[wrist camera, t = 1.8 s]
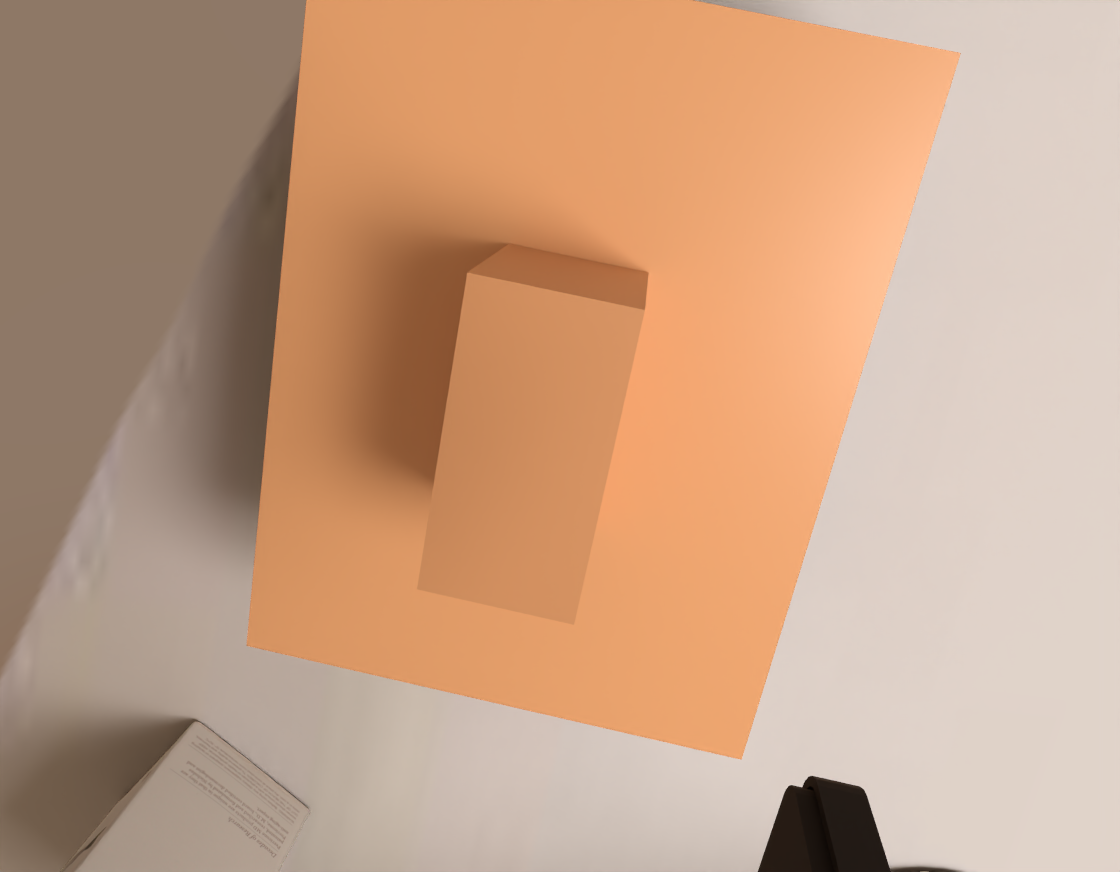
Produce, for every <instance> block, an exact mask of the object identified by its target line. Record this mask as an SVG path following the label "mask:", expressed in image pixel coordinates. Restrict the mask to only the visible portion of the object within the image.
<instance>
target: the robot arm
mask: <svg viewBox="0 0 1120 872" xmlns="http://www.w3.org/2000/svg"><path fill="white" fill-rule="evenodd" d="M758 872H891V871H890V868H889V865H888V862H887V859H886V855H885V852H884V849H883V846H882V843H881V839H880V836H879V833H878V830H877V827H876V824H875V820H874V817H873V814H872V811H871V808H870V805H869V801H868V798H867V795H866V793H865V791H864V789H862V788H861V787H859V786H855V785H850V784H846V783H841V782H837V781H833V780H828V779H824V778H819V777H815V776H810V777H808V778H807V780H806V781H805V782H804V785H803V787H797V786H793V785H791V786H788V788H787V789H786V791H785V793H784V796H783V799H782V802H781V805H780V808H779V811H778V814H777V817H776V820H775V823H774V826H773V828H772V831H771V834H770V837H769V840H768V843H767V846H766V849H765V852H764V855H763V858H762V861H761V864H760V867H759V870H758ZM922 872H927V871H922Z"/></svg>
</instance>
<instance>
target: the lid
mask: <svg viewBox="0 0 1120 872" xmlns="http://www.w3.org/2000/svg"><path fill="white" fill-rule="evenodd" d="M960 54H961V53H958V52H953V51H947V50H942V49H937V48H932V47H927V46H922V45H917V44H912V43H907V42H902V41H897V40H892V39H887V38H882V37H877V36H871V35H866V34H861V33H856V32H851V31H846V30H841V29H836V28H831V27H826V26H821V25H816V24H811V23H806V22H801V21H796V20H790V19H785V18H780V17H775V16H770V15H765V14H760V13H755V12H750V11H745V10H740V9H735V8H730V7H725V6H720V5H714V4H709V3H704V2H699V1H694V0H306V9H305V20H304V31H303V41H302V52H301V63H300V74H299V84H298V95H297V106H296V117H295V128H294V138H293V149H292V160H291V171H290V182H289V193H288V203H287V214H286V225H285V236H284V247H283V257H282V268H281V279H280V290H279V301H278V311H277V322H276V333H275V344H274V355H273V365H272V376H271V387H270V398H269V409H268V419H267V430H266V441H265V452H264V463H263V474H262V484H261V495H260V506H259V517H258V528H257V538H256V549H255V560H254V571H253V582H252V592H251V603H250V614H249V625H248V636H247V646H250V647H255V648H259V649H263V650H268V651H272V652H276V653H281V654H285V655H289V656H294V657H298V658H302V659H307V660H311V661H315V662H320V663H324V664H328V665H333V666H337V667H341V668H346V669H350V670H354V671H359V672H363V673H368V674H372V675H376V676H381V677H385V678H389V679H394V680H398V681H402V682H407V683H411V684H415V685H420V686H424V687H428V688H433V689H437V690H441V691H446V692H450V693H454V694H459V695H463V696H467V697H472V698H476V699H480V700H485V701H489V702H493V703H498V704H502V705H507V706H511V707H515V708H520V709H524V710H528V711H533V712H537V713H541V714H546V715H550V716H554V717H559V718H563V719H567V720H572V721H576V722H580V723H585V724H589V725H593V726H598V727H602V728H606V729H611V730H615V731H619V732H624V733H628V734H632V735H637V736H641V737H645V738H650V739H654V740H659V741H663V742H667V743H672V744H676V745H680V746H685V747H689V748H693V749H698V750H702V751H706V752H711V753H715V754H719V755H724V756H728V757H732V758H737V759H742V756H743V753H744V749H745V746H746V743H747V740H748V737H749V733H750V730H751V727H752V724H753V720H754V717H755V714H756V711H757V708H758V704H759V701H760V698H761V695H762V691H763V688H764V685H765V682H766V679H767V675H768V672H769V669H770V666H771V662H772V659H773V656H774V653H775V650H776V646H777V643H778V640H779V637H780V634H781V630H782V627H783V624H784V621H785V617H786V614H787V611H788V608H789V605H790V601H791V598H792V595H793V592H794V588H795V585H796V582H797V579H798V576H799V572H800V569H801V566H802V563H803V559H804V556H805V553H806V550H807V547H808V543H809V540H810V537H811V534H812V530H813V527H814V524H815V521H816V518H817V514H818V511H819V508H820V505H821V501H822V498H823V495H824V492H825V489H826V485H827V482H828V479H829V476H830V472H831V469H832V466H833V463H834V460H835V456H836V453H837V450H838V447H839V443H840V440H841V437H842V434H843V431H844V427H845V424H846V421H847V418H848V414H849V411H850V408H851V405H852V402H853V398H854V395H855V392H856V389H857V386H858V382H859V379H860V376H861V373H862V369H863V366H864V363H865V360H866V357H867V353H868V350H869V347H870V344H871V340H872V337H873V334H874V331H875V328H876V324H877V321H878V318H879V315H880V311H881V308H882V305H883V302H884V299H885V295H886V292H887V289H888V286H889V282H890V279H891V276H892V273H893V270H894V266H895V263H896V260H897V257H898V253H899V250H900V247H901V244H902V241H903V237H904V234H905V231H906V228H907V224H908V221H909V218H910V215H911V212H912V208H913V205H914V202H915V199H916V195H917V192H918V189H919V186H920V183H921V179H922V176H923V173H924V170H925V166H926V163H927V160H928V157H929V154H930V150H931V147H932V144H933V141H934V137H935V134H936V131H937V128H938V125H939V121H940V118H941V115H942V112H943V109H944V105H945V102H946V99H947V96H948V92H949V89H950V86H951V83H952V80H953V76H954V73H955V70H956V67H957V63H958V60H959V57H960Z"/></svg>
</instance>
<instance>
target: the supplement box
mask: <svg viewBox="0 0 1120 872" xmlns="http://www.w3.org/2000/svg"><path fill="white" fill-rule="evenodd" d="M309 814H310V810H309V809H308V808H307V807H306V806H304V805H303V804H302V803H301V802H300V801H298V800H297V799H296V798H295V797H294V796H292V795H291V794H290V793H289V792H287V791H286V790H285V789H284V788H282V787H281V786H280V785H279V784H277V783H276V782H275V781H274V780H272V779H271V778H270V777H269V776H268V775H266V774H265V773H264V772H263V771H261V770H260V769H259V768H257V767H256V766H255V765H254V764H253V763H252V762H250V761H249V760H248V759H247V758H245V757H244V756H243V755H241V754H240V753H239V752H237V751H236V750H235V749H234V748H233V747H231V746H230V745H229V744H228V743H226V742H225V741H224V740H222V739H221V738H220V737H219V736H218V735H217V734H215V733H214V732H212V731H211V730H210V729H209V728H207V727H206V726H204V725H203V724H202V723H200V722H198V721H195V722H193V723H192V724H191V725H190V726H189V727H188V728H187V729H186V731H185V732H184V733H183V734H182V735H181V736H180V737H179V739H178V740H177V741H176V742H175V743H174V744H173V745H172V746H171V747H170V749H169V750H168V751H167V752H166V753H165V754H164V755H163V756H162V757H161V758H160V759H159V760H158V761H157V762H156V763H155V765H154V766H153V767H152V768H151V769H150V770H149V771H148V772H147V773H146V774H145V775H144V776H143V777H142V778H141V779H140V780H139V781H138V783H137V784H136V785H135V786H134V787H133V788H132V789H131V790H130V791H129V792H128V793H127V794H126V795H125V796H124V797H123V798H122V799H121V800H120V801H119V802H118V803H117V804H116V805H115V806H114V807H113V809H112V810H111V811H110V812H109V813H108V815H107V816H106V817H105V818H104V819H103V821H102V822H101V823H100V824H99V825H98V827H97V828H96V829H95V830H94V831H93V833H92V834H91V835H90V836H89V837H88V839H87V840H86V841H85V842H84V843H83V845H82V846H81V847H80V848H79V849H78V851H77V852H76V853H75V854H74V855H73V857H72V858H71V859H70V860H69V861H68V863H67V864H66V865H65V866H64V867H63V869H62V870H61V871H60V872H278V871H279V869H280V868H281V866H282V864H283V862H284V860H285V858H286V856H287V855H288V853H289V851H290V849H291V847H292V845H293V843H294V842H295V840H296V838H297V836H298V834H299V832H300V830H301V828H302V826H303V824H304V823H305V821H306V819H307V817H308V815H309Z"/></svg>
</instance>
